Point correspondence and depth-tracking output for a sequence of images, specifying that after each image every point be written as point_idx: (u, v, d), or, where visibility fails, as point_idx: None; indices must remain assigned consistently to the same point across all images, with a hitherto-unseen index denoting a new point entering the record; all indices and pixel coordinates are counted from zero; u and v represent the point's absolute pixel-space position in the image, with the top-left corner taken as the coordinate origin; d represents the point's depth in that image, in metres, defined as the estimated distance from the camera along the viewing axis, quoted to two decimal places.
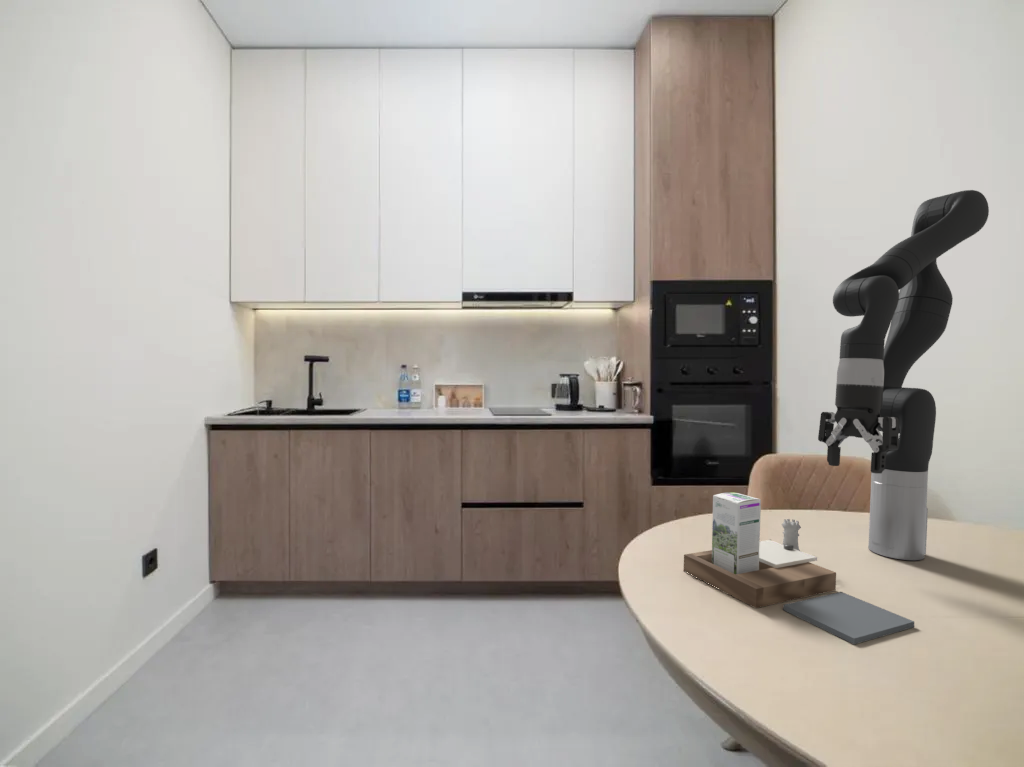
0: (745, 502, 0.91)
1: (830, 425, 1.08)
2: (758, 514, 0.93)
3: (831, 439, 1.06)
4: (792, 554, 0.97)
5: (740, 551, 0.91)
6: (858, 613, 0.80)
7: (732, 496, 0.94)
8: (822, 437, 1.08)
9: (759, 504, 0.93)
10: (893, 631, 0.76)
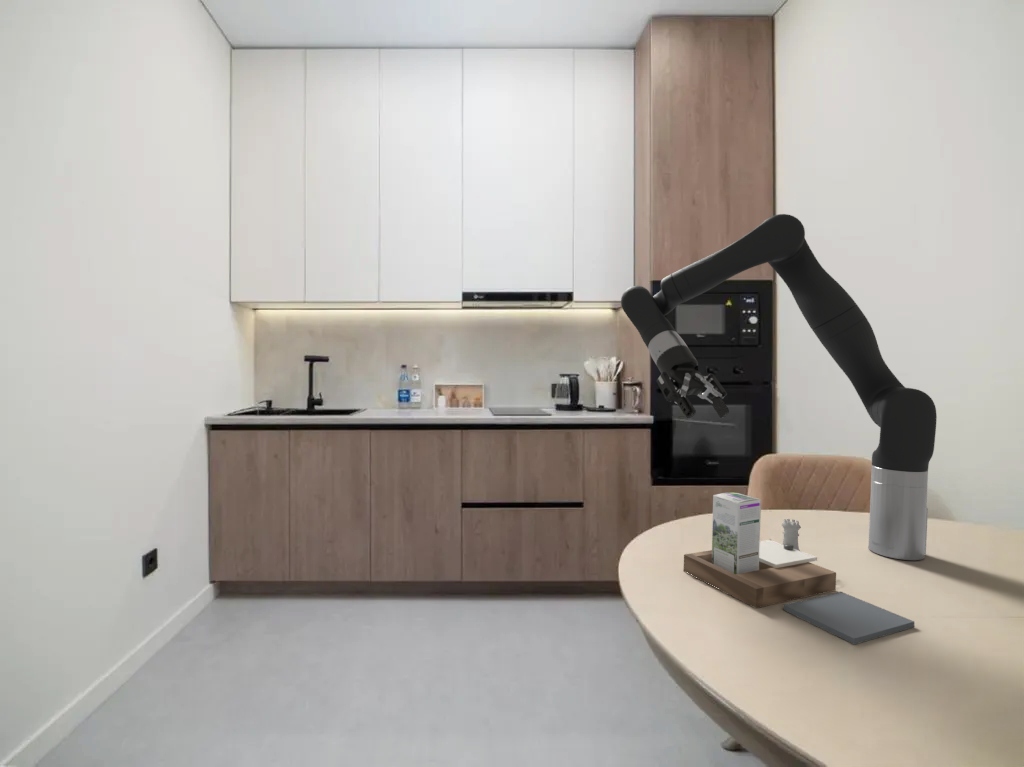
0: (745, 502, 0.91)
1: (712, 385, 1.14)
2: (758, 514, 0.93)
3: None
4: (792, 554, 0.97)
5: (740, 551, 0.91)
6: (858, 613, 0.80)
7: (732, 496, 0.94)
8: None
9: (759, 504, 0.93)
10: (893, 631, 0.76)
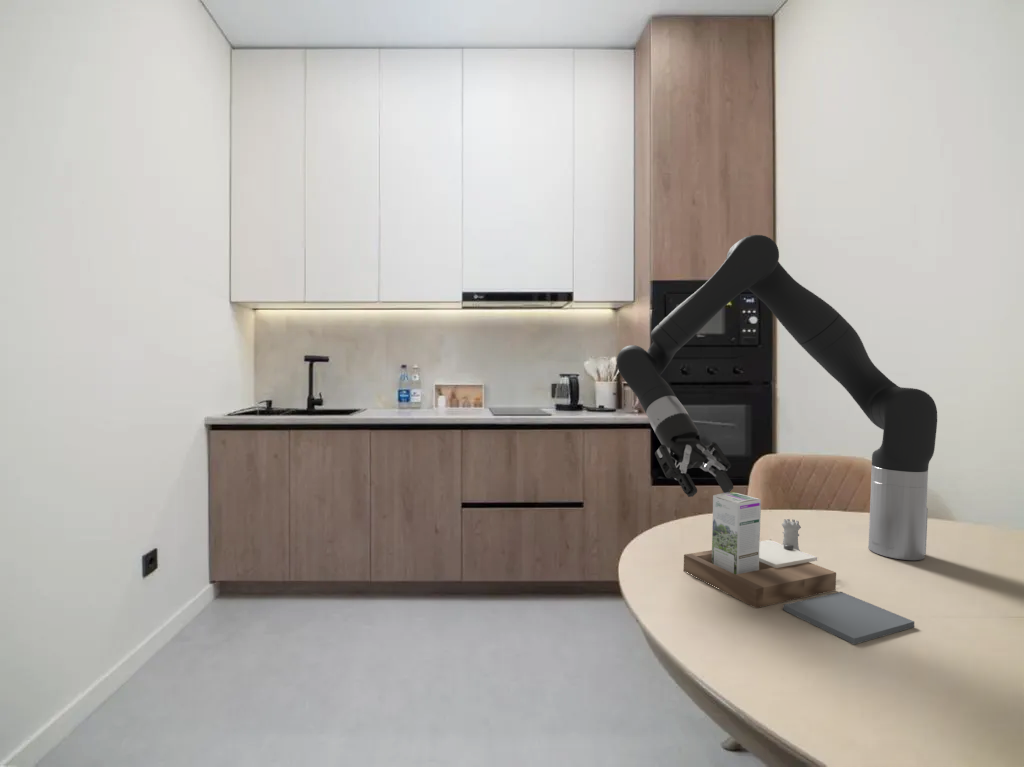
0: (745, 502, 0.91)
1: (715, 455, 1.07)
2: (758, 514, 0.93)
3: None
4: (792, 554, 0.97)
5: (740, 551, 0.91)
6: (858, 613, 0.80)
7: (732, 496, 0.94)
8: None
9: (759, 504, 0.93)
10: (893, 631, 0.76)
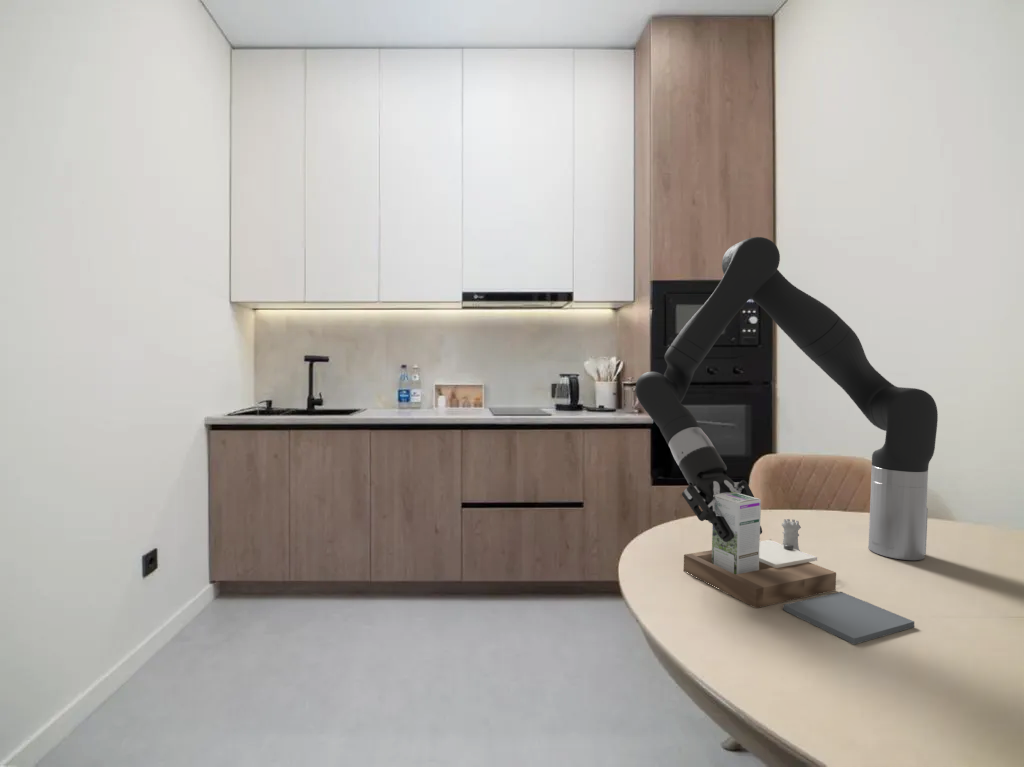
0: (745, 502, 0.91)
1: (743, 494, 1.00)
2: (758, 514, 0.93)
3: None
4: (792, 554, 0.97)
5: (740, 551, 0.91)
6: (858, 613, 0.80)
7: (732, 496, 0.94)
8: None
9: (759, 504, 0.93)
10: (893, 631, 0.76)
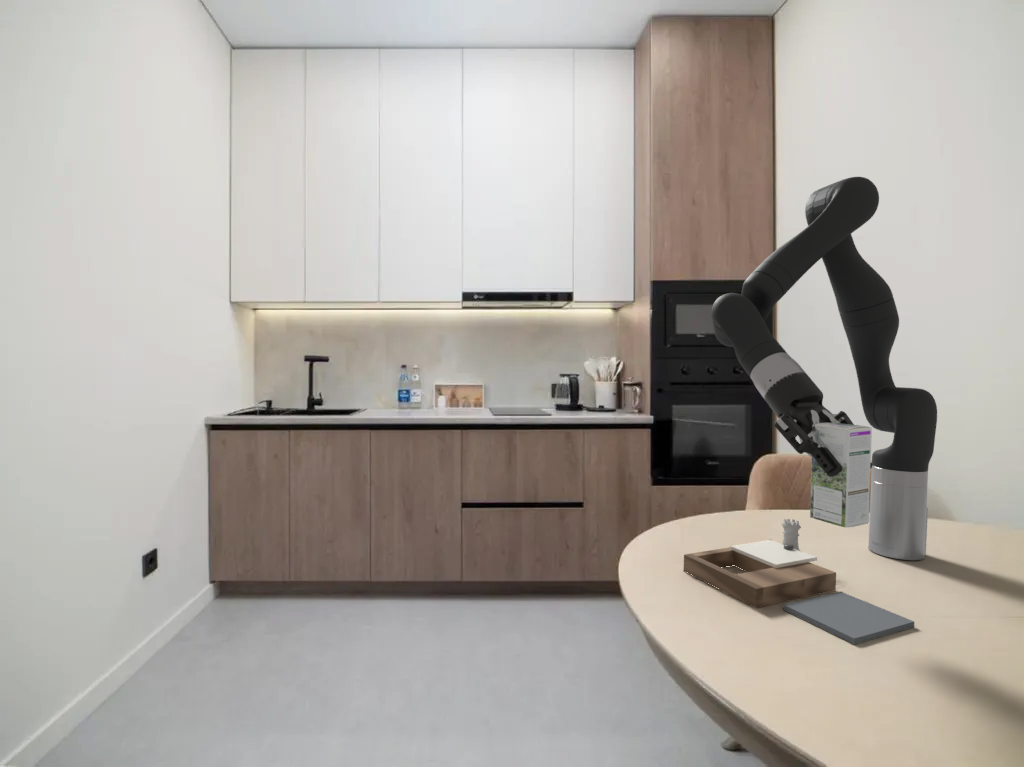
0: (855, 429, 0.78)
1: None
2: (869, 444, 0.79)
3: None
4: (792, 554, 0.97)
5: (849, 486, 0.78)
6: (858, 613, 0.80)
7: (836, 424, 0.81)
8: None
9: (870, 432, 0.79)
10: (893, 631, 0.76)
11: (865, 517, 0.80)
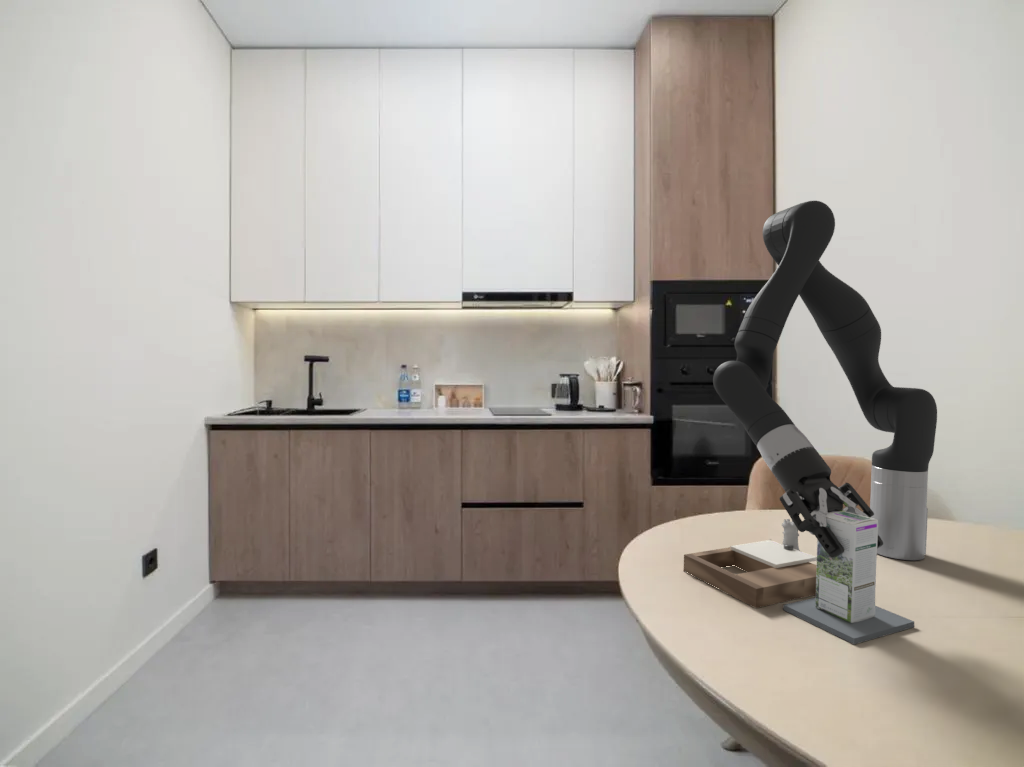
0: (862, 523, 0.77)
1: (851, 500, 0.86)
2: (875, 537, 0.78)
3: None
4: (792, 554, 0.97)
5: (855, 582, 0.77)
6: None
7: (842, 515, 0.80)
8: None
9: (876, 525, 0.78)
10: (893, 631, 0.76)
11: (871, 611, 0.79)
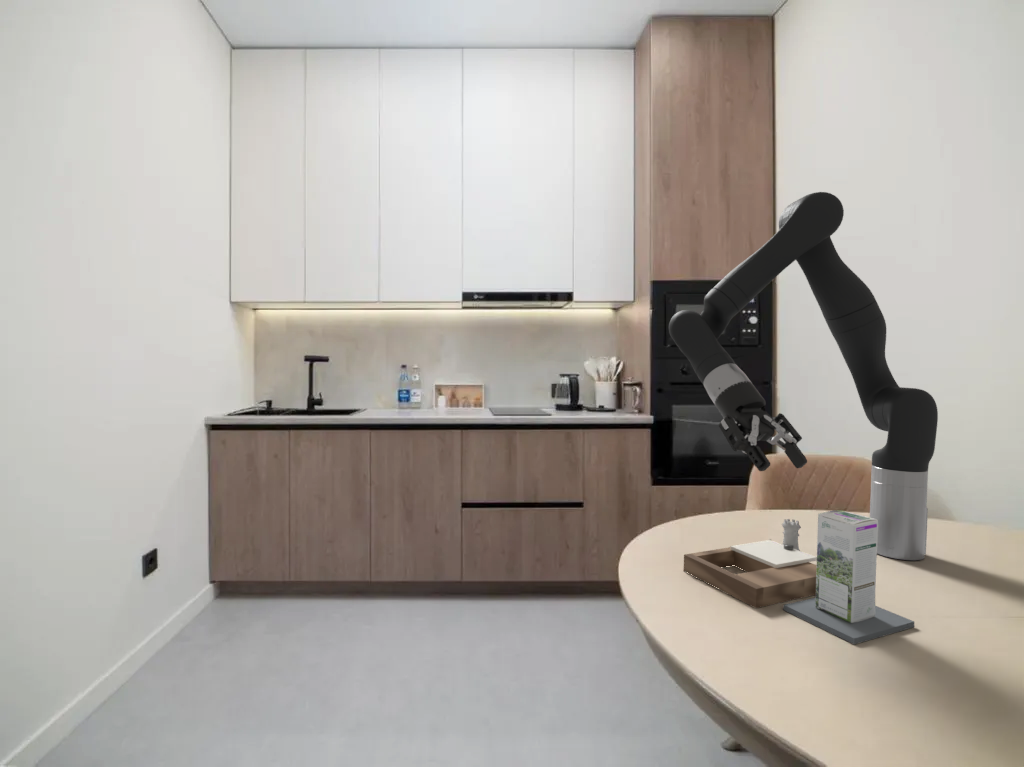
0: (862, 523, 0.77)
1: (783, 427, 0.97)
2: (875, 537, 0.78)
3: None
4: (792, 554, 0.97)
5: (855, 582, 0.77)
6: None
7: (842, 515, 0.80)
8: None
9: (876, 525, 0.78)
10: (893, 631, 0.76)
11: (871, 611, 0.79)
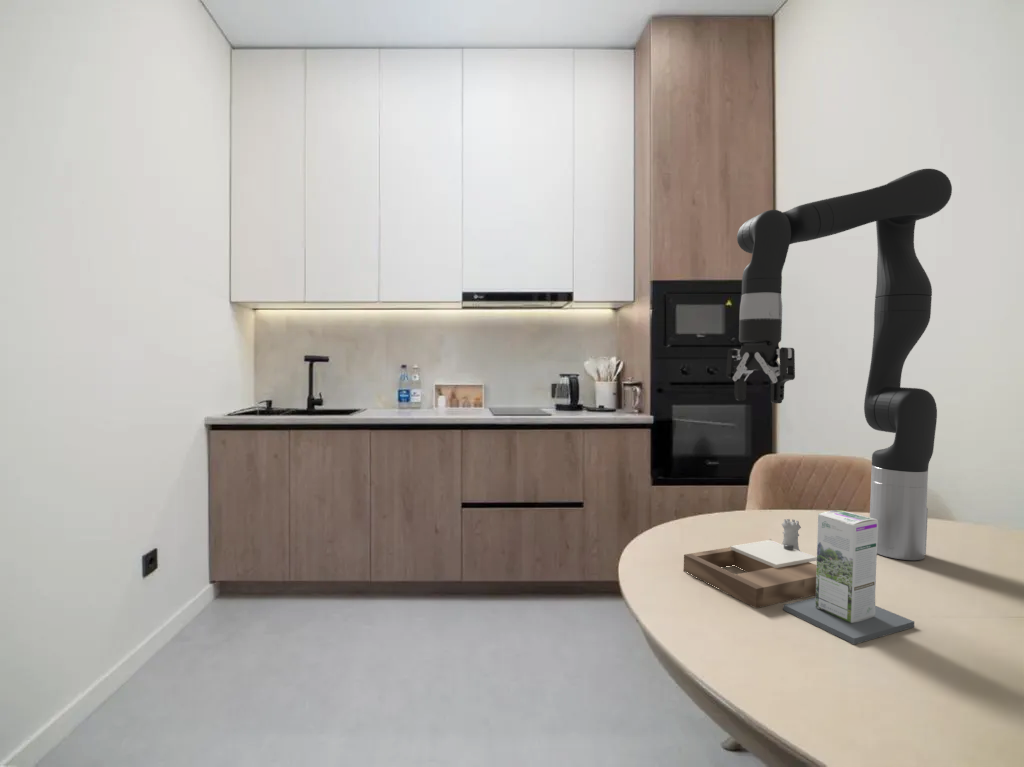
0: (862, 523, 0.77)
1: (737, 361, 1.11)
2: (875, 537, 0.78)
3: (737, 374, 1.10)
4: (792, 554, 0.97)
5: (855, 582, 0.77)
6: None
7: (842, 515, 0.80)
8: (729, 373, 1.11)
9: (876, 525, 0.78)
10: (893, 631, 0.76)
11: (871, 611, 0.79)
